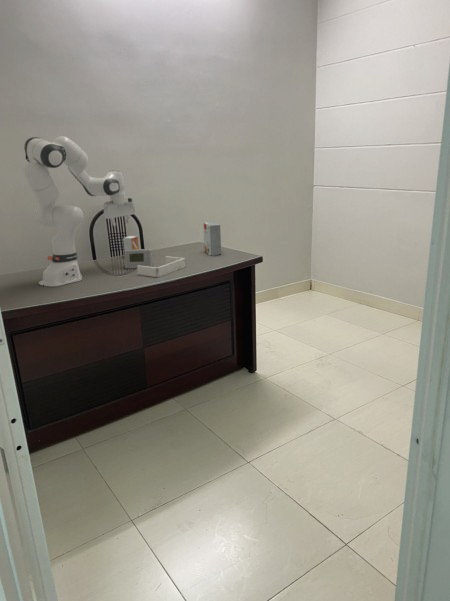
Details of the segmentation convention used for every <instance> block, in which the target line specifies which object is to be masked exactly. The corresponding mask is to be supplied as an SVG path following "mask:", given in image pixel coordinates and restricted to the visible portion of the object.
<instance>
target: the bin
mask: <svg viewBox="0 0 450 601" xmlns="http://www.w3.org/2000/svg"><path fill="white" fill-rule="evenodd" d="M164 262H165V264H164V265H160V266H157V267H156V266H153V267H148V266H140V265H138V266H137V269H136V270H137V275H138V276H146V277H153V278H160V277H163V276H166V275H168V274H171V273H173V272H176V271H178V269H179V270H180V269H183V268H186V267H187V258H185V257H176V256H170V255H169V256H168V255H166V256H164Z"/></svg>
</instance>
